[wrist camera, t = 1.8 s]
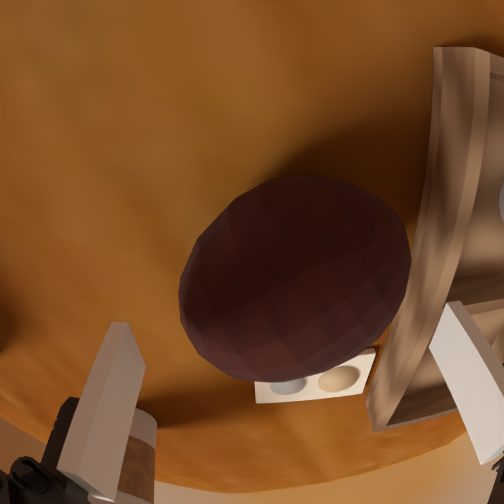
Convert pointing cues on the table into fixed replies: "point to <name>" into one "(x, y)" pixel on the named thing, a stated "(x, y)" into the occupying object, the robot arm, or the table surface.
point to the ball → (501, 201)
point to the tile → (320, 382)
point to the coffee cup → (136, 463)
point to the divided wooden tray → (449, 239)
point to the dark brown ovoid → (294, 279)
